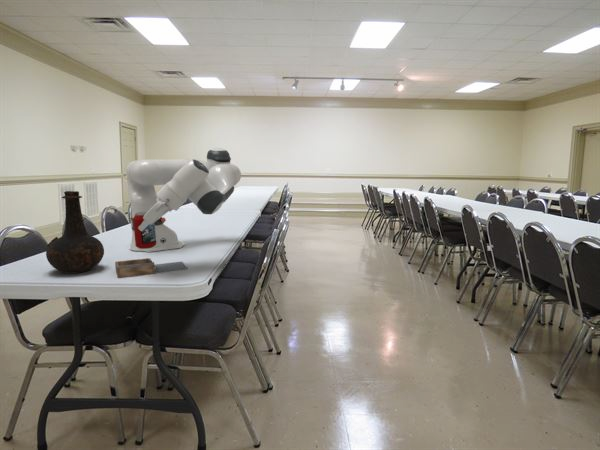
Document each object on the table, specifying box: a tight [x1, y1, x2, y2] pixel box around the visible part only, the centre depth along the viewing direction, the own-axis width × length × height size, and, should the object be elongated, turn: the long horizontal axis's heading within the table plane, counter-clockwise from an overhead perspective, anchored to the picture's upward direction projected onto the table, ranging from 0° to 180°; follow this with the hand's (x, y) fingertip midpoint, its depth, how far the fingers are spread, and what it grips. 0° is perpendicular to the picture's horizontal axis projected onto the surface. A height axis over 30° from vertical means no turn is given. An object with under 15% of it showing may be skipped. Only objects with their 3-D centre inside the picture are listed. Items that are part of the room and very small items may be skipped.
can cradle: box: [114, 257, 156, 278], centre depth 140 cm, size 12×12×4 cm
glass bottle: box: [45, 190, 105, 274], centre depth 141 cm, size 18×18×28 cm
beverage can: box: [133, 212, 156, 249], centre depth 140 cm, size 7×7×12 cm
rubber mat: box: [154, 261, 189, 273], centre depth 146 cm, size 10×10×1 cm
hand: (142, 227), depth 140 cm, fingers closed on beverage can, 7 cm apart
